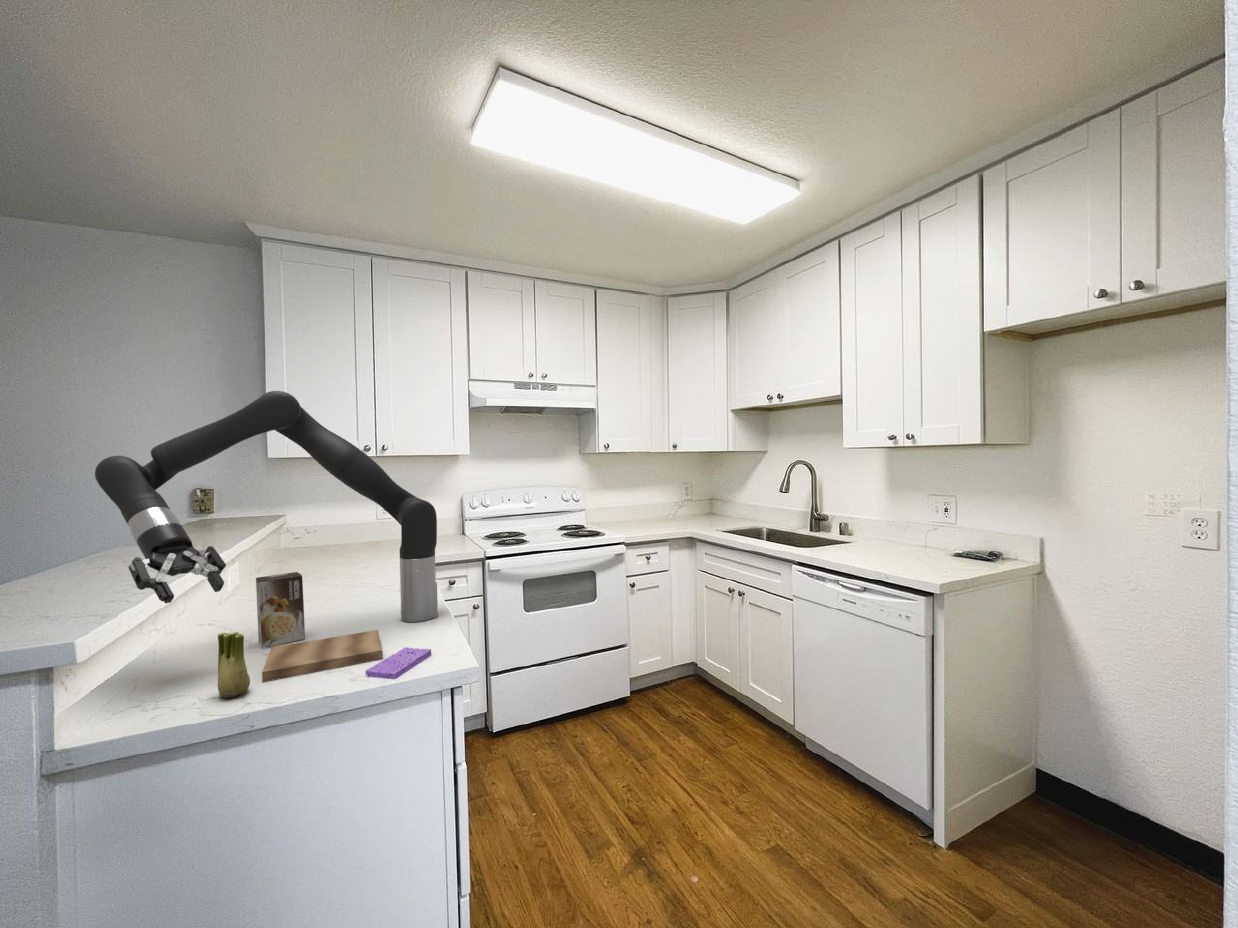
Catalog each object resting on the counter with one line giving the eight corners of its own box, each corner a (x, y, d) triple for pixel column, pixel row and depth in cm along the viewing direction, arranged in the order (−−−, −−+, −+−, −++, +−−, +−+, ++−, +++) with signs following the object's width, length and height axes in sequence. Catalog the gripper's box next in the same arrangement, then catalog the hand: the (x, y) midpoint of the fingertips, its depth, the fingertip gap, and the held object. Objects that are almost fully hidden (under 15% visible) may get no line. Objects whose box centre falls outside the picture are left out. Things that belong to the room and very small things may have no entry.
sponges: (431, 657, 113) (431, 648, 113) (394, 682, 101) (394, 672, 101) (405, 654, 115) (404, 646, 115) (364, 678, 103) (364, 669, 103)
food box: (301, 632, 129) (299, 570, 129) (305, 639, 124) (303, 575, 124) (257, 641, 123) (255, 577, 123) (260, 649, 118) (258, 581, 118)
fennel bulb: (215, 694, 96) (213, 632, 96) (246, 685, 99) (244, 625, 99) (221, 704, 92) (219, 639, 92) (253, 694, 96) (251, 632, 95)
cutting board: (378, 637, 124) (378, 629, 124) (382, 658, 111) (382, 649, 111) (271, 655, 114) (271, 647, 114) (262, 681, 101) (262, 672, 101)
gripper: (122, 526, 95) (160, 591, 91) (206, 517, 109) (242, 574, 105) (107, 552, 97) (143, 617, 93) (191, 540, 111) (226, 597, 107)
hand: (196, 594), depth 99 cm, fingers open, 8 cm apart
